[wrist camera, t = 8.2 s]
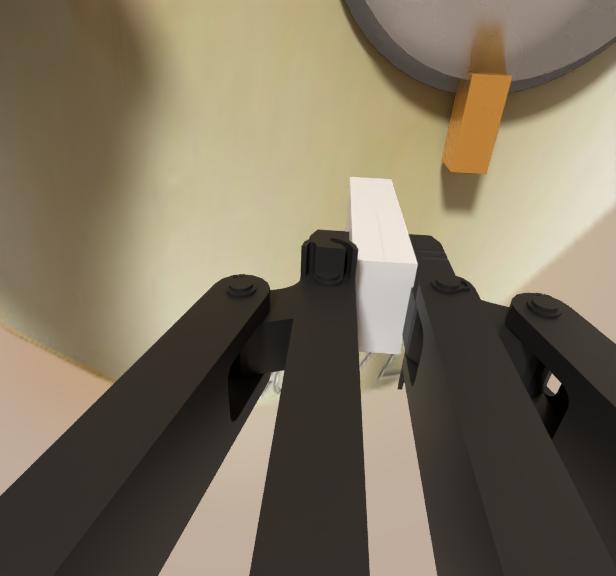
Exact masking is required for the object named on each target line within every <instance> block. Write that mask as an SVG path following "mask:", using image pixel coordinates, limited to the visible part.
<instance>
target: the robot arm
mask: <svg viewBox="0 0 616 576" xmlns="http://www.w3.org/2000/svg"><path fill="white" fill-rule="evenodd" d="M403 341H404V346H405V354H404V359H403V364H402V369H401V374H400V378H399V383H398V389H402V387H403V383H404V382H405V387H406V392H407V398H408V404H409V410H410V416H411V422H412V428H413V433H414V440H415V445H416V451H417V458H418V463H419V469H420V475H421V481H422V487H423V493H424V499H425V505H426V511H427V516H428V523H429V529H430V535H431V540H432V546H433V552H434V558H435V564H436V570H437V575H438V576H616V344H615V343H614V342H612V341H611V340H610V339H609V338H607V337H606V336H605V335H604V334H603V333H601V332H600V331H599V330H598V329H596V328H595V327H594V326H593V325H592V324H590V323H589V322H588V321H587V320H585V319H584V318H583V317H582V316H580V315H579V314H578V313H577V312H575V311H574V310H573V309H572V308H570V307H569V306H568V305H566V304H565V303H563V302H562V301H560V300H557V299H555V298H552V297H551V296H549V295H545V294H544V295H542V294H541V293H522V294H517V295H516V296H515V297H514V298H512V301H511V304H510V307H506V306H502V305H497V304H493V303H489V302H486V301H483V300H481V299H480V297H479V295H478V293H477V291H476V289H475V288H474V287H473V285H472V284H471V283H470V282H468V281H466V280H465V279H463V278H461V277H458V276H455V273H454V271H453V269H452V267H451V265H450V262H449V260H447V256H446V254H445V253H444V249H443V247H442V245H441V243H440V242H438V241H437V240H436V239H434V238H433V237H432V236H428V235H413V234H408V232H407V228H406V225H405V222H404V219H403V216H402V213H401V209H400V206H399V203H398V200H397V197H396V194H395V191H394V187H393V184H392V181H391V179H376V178H359V177H350V182H349V193H348V204H347V215H346V226H345V231H331V230H317V231H316V232H314V233H313V234H312V235H311V236H310V239H308V240H307V241H305V242H304V243H303V245H302V250H301V277H300V281H299V282H298V283H297V284H295V285H293V286H290V287H287V288H283V289H277V290H270V287H269V285H268V283H267V282H266V281H265V280H263V279H262V278H259V277H256V276H253V275H245V274H239V275H232V276H229V277H226V278H223V279H221V280H220V281H218V282H217V283H215V284H214V285H213V286H212V287H211V288H210V289H209V290H208V291H207V292H206V293H205V294H204V295H203V296H202V297H201V298H200V299H199V300H198V301H197V302H196V303H195V304H194V305H193V306H192V307H191V308H190V309H189V310H188V311H187V312H186V313H185V314H184V315H183V316H182V317H181V318H180V319H179V320H178V321H177V322H176V323H175V324H174V325H173V326H172V327H171V328H170V329H169V330H168V331H167V332H166V333H165V334H164V335H163V336H162V337H161V338H160V339H159V340H158V341H157V342H156V343H155V344H154V345H153V346H152V347H151V348H150V349H149V350H148V351H147V352H146V353H145V354H144V355H143V356H142V357H140V358H139V359H138V360H137V361H136V362H135V363H134V364H133V365H132V366H131V367H130V368H129V369H128V370H127V371H126V372H125V373H124V374H123V375H122V376H121V377H120V378H119V379H118V380H117V381H116V382H115V383H114V384H113V385H112V386H111V387H110V388H109V389H108V390H107V391H106V392H105V393H104V394H103V395H102V396H101V397H100V398H99V399H98V400H97V401H96V402H95V403H94V404H93V405H92V406H91V407H90V408H89V409H88V410H87V411H86V412H85V413H84V414H83V415H82V416H81V417H80V418H79V419H78V420H77V421H76V422H75V423H74V424H73V425H72V426H71V427H70V428H69V429H68V430H67V431H66V432H65V433H64V434H63V435H62V436H61V437H60V438H59V439H58V440H57V441H56V442H55V443H54V444H53V445H51V447H50V448H49V449H47V450H46V451H45V452H44V453H43V454H42V455H41V456H40V457H39V458H38V459H37V460H36V461H35V462H34V463H33V464H32V465H31V466H30V467H29V468H28V469H27V470H26V471H25V472H24V473H23V474H22V475H21V476H20V477H19V478H18V479H17V480H16V481H15V482H14V483H13V484H12V485H11V486H10V487H9V488H8V489H7V490H6V491H5V492H4V493H3V494H2V495H1V496H0V576H158V575H159V573H160V571H161V569H162V567H163V566H164V564H165V562H166V561H167V559H168V557H169V555H170V553H171V552H172V550H173V548H174V546H175V545H176V543H177V541H178V539H179V538H180V536H181V534H182V532H183V531H184V529H185V527H186V525H187V524H188V522H189V520H190V518H191V517H192V515H193V513H194V511H195V509H196V508H197V506H198V504H199V503H200V501H201V499H202V497H203V496H204V494H205V492H206V490H207V489H208V487H209V485H210V483H211V482H212V480H213V478H214V476H215V475H216V473H217V471H218V469H219V468H220V466H221V464H222V462H223V460H224V459H225V457H226V455H227V453H228V452H229V450H230V448H231V446H232V445H233V443H234V441H235V439H236V437H237V436H238V434H239V432H240V431H241V429H242V427H243V425H244V424H245V422H246V420H247V418H248V416H249V415H250V413H251V411H252V410H253V408H254V406H255V404H256V403H257V401H258V399H259V397H260V396H261V394H262V392H263V390H264V389H265V387H266V385H267V383H268V381H269V379H270V375H271V372H276V371H282V370H285V371H284V377H283V382H282V388H281V394H280V400H279V406H278V412H277V417H276V423H275V429H274V435H273V441H272V446H271V453H270V458H269V464H268V470H267V476H266V481H265V487H264V493H263V499H262V505H261V511H260V517H259V522H258V528H257V535H256V540H255V546H254V551H253V557H252V563H251V569H250V575H249V576H370V572H369V552H368V531H367V511H366V491H365V473H364V472H365V471H364V450H363V432H362V410H361V390H360V370H359V351H361V352H375V353H388V354H400V352H401V347H402V342H403ZM551 374H553V375H554V376H555V377H556V378H557V379H558V380H559V381H560V382H561V383H562V384H561V386H560V388H559V390H558V392H557V393H556V394H554V393H553V392H552V391H551V390H550V389H549V388H548V387H547V386H546V385H547V383H548V380H549V378H550V376H551Z"/></svg>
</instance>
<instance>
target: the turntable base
mask: <svg viewBox="0 0 616 576" xmlns="http://www.w3.org/2000/svg"><path fill="white" fill-rule="evenodd" d="M345 1H346V3H347V6H348V8H349V10H350V12H351V14H352V16H353V18H354V19H355V21H356V22H357V24H358V25H359V27H360V29H361V30H362V32H363V33H364V35H365V36H366V37H367V38H368V40H369V41H370V42H371V43H372V44H373V46H374V47H375V48H376V49H377V50H378V52H379V53H381V54H382V55H383V56H384V57H385V58H386V59H387V60H388V61H390V62H391V63H392V64H393V65H394V66H395V67H397V68H398V69H400V70H401V71H403V72H405V73H406V74H408V75H409V76H411V77H412V78H414V79H416V80H418V81H420V82H423V83H425V84H427V85H429V86H431V87H434V88H438V89H441V90H445V91H448V92H452V93H456V90H457V85H458V81H459V78H457V77H454V76H450V75H447V74H444V73H442V72H439V71H437V70H435V69H433V68H431V67H429V66H426V65H424V64H422V63H421V62H419V61H418V60H416V59H415V58H413V57H412V56H410V55H409V54H407V53H406V52H405V51H404V50H403V49H401V48H400V47H399V46H398V45H397V44H396V43H395V42H394V41H393V40H392V39H391V38H390V37H389V36H388V35H387V33H386V32H385V31H384V30H383V29H382V27H381V26H380V25H379V24H378V22H377V21H376V19H375V17H374V16H373V14H372V13H371V11H370V9H369V8H368V6H367V4H366V3H365V0H345ZM615 41H616V37H614V38H613V39H611V40H610V41H609V42H607V43H606V44H604V45H603V46H601V47H600V48H599V49H597V50H595V51H594V52H592V53H590V54H588V55H586V56H585V57H583V58H581V59H579V60H577V61H576V62H574V63H571V64H569V65H567V66H564V67H562V68H559V69H557V70H555V71H552V72H549V73H546V74H543V75H539V76H536V77H532V78H529V79H522V80H516V81H511V83H510V87H509V91H508V93H511V92H517V91H521V90H524V89H528V88H531V87H535V86H538V85H541V84H544V83H546V82H548V81H551V80H553V79H556V78H558V77H560V76H563V75H565V74H566V73H568V72H570V71H572V70H574V69H575V68H577V67H579V66H581V65H583V64H585V63H586V62H588V61H589V60H591V59H592V58H593V57H595V56H596V55H598V54H599V53H601V52H602V51H604V50H605V49H606V48H608V47H609V46H610V45H612V44H613V43H614V42H615Z"/></svg>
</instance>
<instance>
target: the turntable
mask: <svg viewBox="0 0 616 576" xmlns="http://www.w3.org/2000/svg"><path fill="white" fill-rule="evenodd" d="M365 3H366V4H367V6H368V8H369V9H370V11H371V13H372V14H373V16H374V17H375V19H376V21H377V22H378V24H379V25H380V26H381V27H382V29H383V30H384V31H385V32H386V33H387V35H388V36H389V37H390V38H391V39H392V40H393V41H394V42H395V43H396V44H397V45H398V46H399V47H400V48H401V49H403V50H404V51H405V52H406V53H407V54H409V55H410V56H412V57H413V58H415V59H416V60H418V61H419V62H421V63H422V64H424V65H426V66H429V67H431V68H433V69H435V70H437V71H439V72H442V73H444V74H447V75H450V76H454V77H457V78H459V81H458V85H457V90H456V95H455V100H454V105H453V110H452V114H451V119H450V124H449V129H448V134H447V139H446V143H445V148H444V153H443V158H442V161H443V162H444V164H445V165H446V166H447V168H448V169H449V170H450V171H451V172H460V173H477V174H486V173H487V170H488V166H489V162H490V158H491V155H492V151H493V147H494V143H495V140H496V136H497V132H498V128H499V125H500V121H501V117H502V113H503V110H504V106H505V102H506V98H507V95H508V91H509V87H510V83H511V81H516V80H522V79H529V78H532V77H536V76H539V75H543V74H546V73H549V72H552V71H555V70H557V69H559V68H562V67H564V66H567V65H569V64H571V63H574V62H576V61H577V60H579V59H581V58H583V57H585V56H586V55H588V54H590V53H592V52H594V51H595V50H597V49H599V48H600V47H601V46H603V45H604V44H606V43H607V42H609V41H610V40H611V39H613V38H614V37H616V0H365Z"/></svg>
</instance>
